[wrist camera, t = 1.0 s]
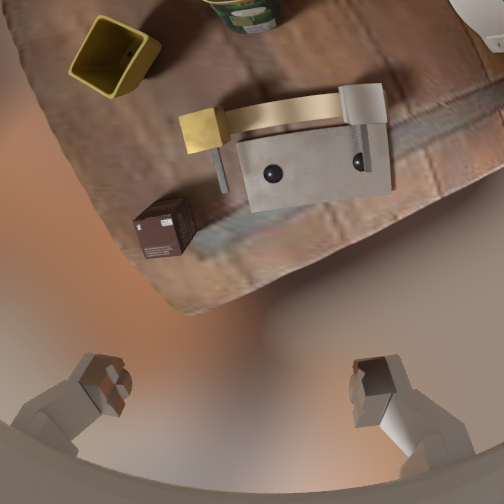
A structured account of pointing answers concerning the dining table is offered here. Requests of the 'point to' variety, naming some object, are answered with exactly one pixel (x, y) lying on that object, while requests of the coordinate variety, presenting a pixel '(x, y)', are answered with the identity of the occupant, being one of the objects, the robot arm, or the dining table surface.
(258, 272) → the dining table surface
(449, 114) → the dining table surface
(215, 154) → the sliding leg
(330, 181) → the hole plate
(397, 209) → the dining table surface
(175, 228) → the box
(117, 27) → the flower pot
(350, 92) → the beam
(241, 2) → the coffee jar
